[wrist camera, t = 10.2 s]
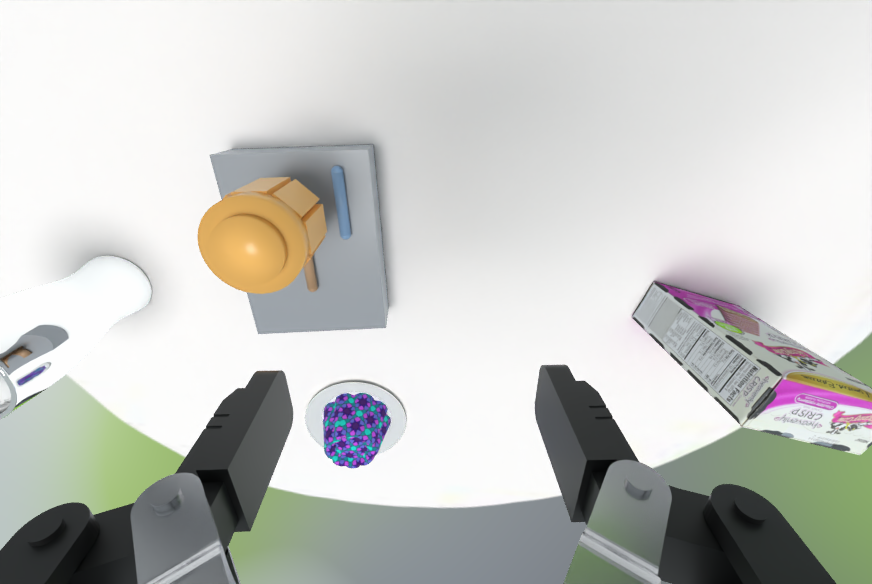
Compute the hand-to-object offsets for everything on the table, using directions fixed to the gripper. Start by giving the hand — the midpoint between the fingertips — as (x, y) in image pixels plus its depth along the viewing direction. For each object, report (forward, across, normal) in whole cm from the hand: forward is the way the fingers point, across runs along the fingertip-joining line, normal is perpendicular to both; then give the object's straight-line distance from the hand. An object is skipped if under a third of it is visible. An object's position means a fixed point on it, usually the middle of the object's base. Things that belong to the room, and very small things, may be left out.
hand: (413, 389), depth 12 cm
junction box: (+26, +10, +4) cm, 28 cm away
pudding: (+26, +8, +27) cm, 38 cm away
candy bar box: (+27, -28, +13) cm, 41 cm away
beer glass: (+26, +30, +8) cm, 40 cm away
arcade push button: (+18, +10, 0) cm, 20 cm away
